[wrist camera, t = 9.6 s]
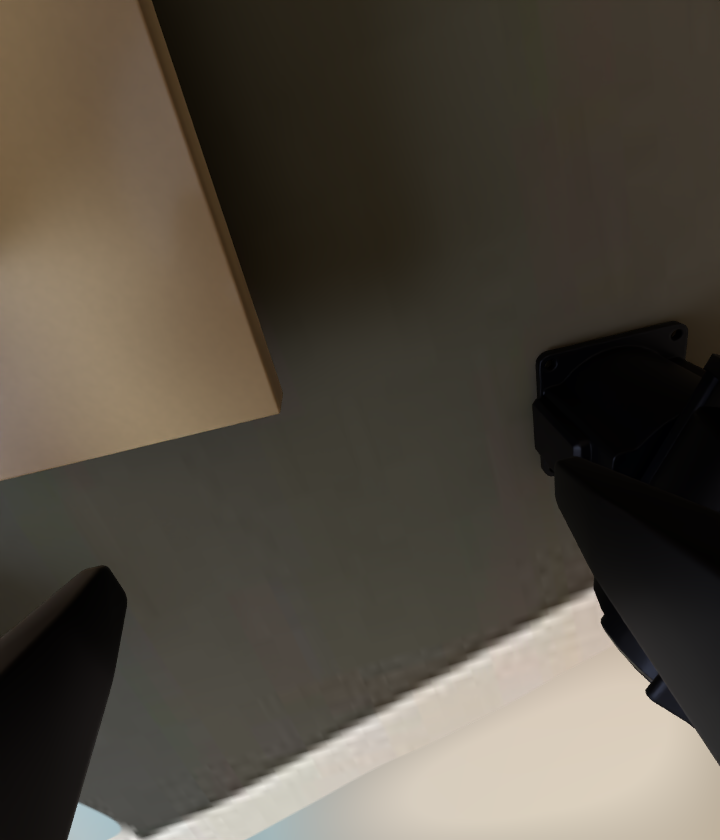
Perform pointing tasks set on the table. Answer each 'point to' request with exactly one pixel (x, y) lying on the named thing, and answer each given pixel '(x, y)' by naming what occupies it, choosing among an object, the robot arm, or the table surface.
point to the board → (111, 247)
